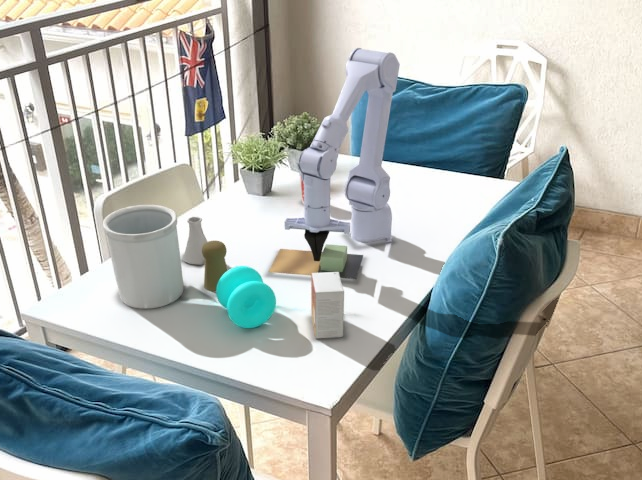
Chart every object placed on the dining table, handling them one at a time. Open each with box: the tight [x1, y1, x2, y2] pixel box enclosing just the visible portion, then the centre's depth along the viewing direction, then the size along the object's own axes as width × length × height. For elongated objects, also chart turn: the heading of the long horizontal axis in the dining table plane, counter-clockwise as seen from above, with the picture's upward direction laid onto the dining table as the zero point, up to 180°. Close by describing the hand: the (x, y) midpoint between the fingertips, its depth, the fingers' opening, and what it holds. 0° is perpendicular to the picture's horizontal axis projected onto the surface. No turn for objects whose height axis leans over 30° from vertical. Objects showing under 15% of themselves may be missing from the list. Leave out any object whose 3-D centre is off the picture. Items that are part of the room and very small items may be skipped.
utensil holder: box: [102, 204, 185, 310], centre depth 147 cm, size 15×15×18 cm
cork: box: [202, 240, 229, 293], centre depth 150 cm, size 6×6×11 cm
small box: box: [310, 272, 345, 340], centre depth 136 cm, size 8×6×10 cm
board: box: [268, 248, 364, 280], centre depth 160 cm, size 20×12×1 cm, turn 79°
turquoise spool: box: [215, 265, 277, 329], centre depth 140 cm, size 10×10×10 cm
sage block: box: [321, 243, 348, 272], centre depth 158 cm, size 5×6×4 cm
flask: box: [182, 216, 208, 265], centre depth 162 cm, size 7×7×10 cm
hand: (317, 259), depth 160 cm, fingers closed
